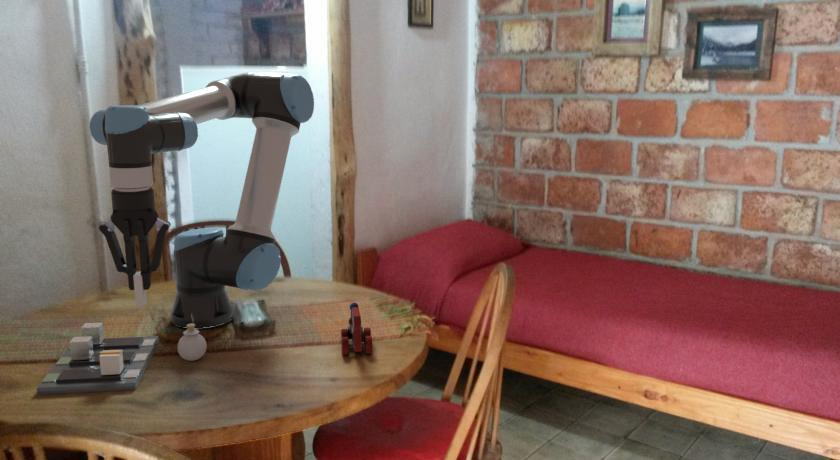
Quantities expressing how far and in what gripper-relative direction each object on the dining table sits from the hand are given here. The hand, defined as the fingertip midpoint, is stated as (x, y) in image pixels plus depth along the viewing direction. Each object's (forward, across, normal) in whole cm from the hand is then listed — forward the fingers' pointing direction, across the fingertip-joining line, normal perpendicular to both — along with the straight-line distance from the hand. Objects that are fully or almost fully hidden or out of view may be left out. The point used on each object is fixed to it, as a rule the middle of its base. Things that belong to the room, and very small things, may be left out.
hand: (141, 304), depth 134 cm
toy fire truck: (+17, -43, -12) cm, 48 cm away
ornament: (+17, -8, -10) cm, 21 cm away
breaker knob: (+14, +6, 0) cm, 15 cm away
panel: (+16, +10, -8) cm, 21 cm away
